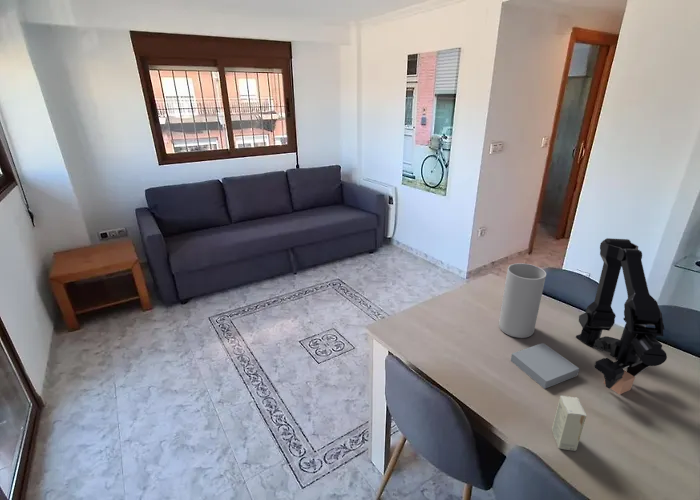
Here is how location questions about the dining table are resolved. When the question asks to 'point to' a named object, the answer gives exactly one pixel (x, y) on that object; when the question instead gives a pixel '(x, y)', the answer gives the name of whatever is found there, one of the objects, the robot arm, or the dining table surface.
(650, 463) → the dining table surface
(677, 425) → the dining table surface
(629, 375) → the terracotta cube
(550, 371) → the slate base
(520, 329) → the cylinder vase
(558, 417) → the skincare box
